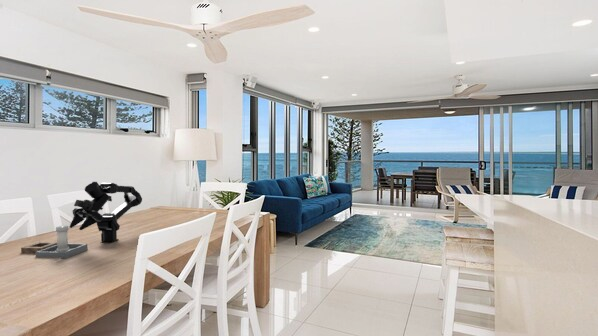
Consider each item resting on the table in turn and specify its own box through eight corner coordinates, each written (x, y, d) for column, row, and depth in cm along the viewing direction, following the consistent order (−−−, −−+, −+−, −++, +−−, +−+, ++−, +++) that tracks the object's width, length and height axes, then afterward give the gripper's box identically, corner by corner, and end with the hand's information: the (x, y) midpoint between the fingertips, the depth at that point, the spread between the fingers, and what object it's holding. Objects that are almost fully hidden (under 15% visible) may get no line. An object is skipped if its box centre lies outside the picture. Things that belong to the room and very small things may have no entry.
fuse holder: (58, 248, 160) (58, 242, 159) (41, 254, 150) (41, 248, 149) (39, 247, 160) (39, 241, 160) (21, 254, 150) (21, 247, 150)
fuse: (70, 249, 154) (69, 225, 154) (67, 252, 150) (66, 227, 149) (58, 250, 152) (57, 226, 152) (54, 253, 148) (54, 228, 147)
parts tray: (87, 249, 157) (87, 243, 157) (64, 258, 144) (64, 252, 143) (60, 248, 158) (60, 243, 158) (35, 258, 144) (35, 251, 144)
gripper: (75, 192, 164) (51, 217, 155) (95, 194, 155) (71, 221, 146) (92, 205, 171) (70, 229, 162) (112, 208, 162) (90, 234, 153)
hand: (75, 228), depth 156 cm, fingers open, 9 cm apart
